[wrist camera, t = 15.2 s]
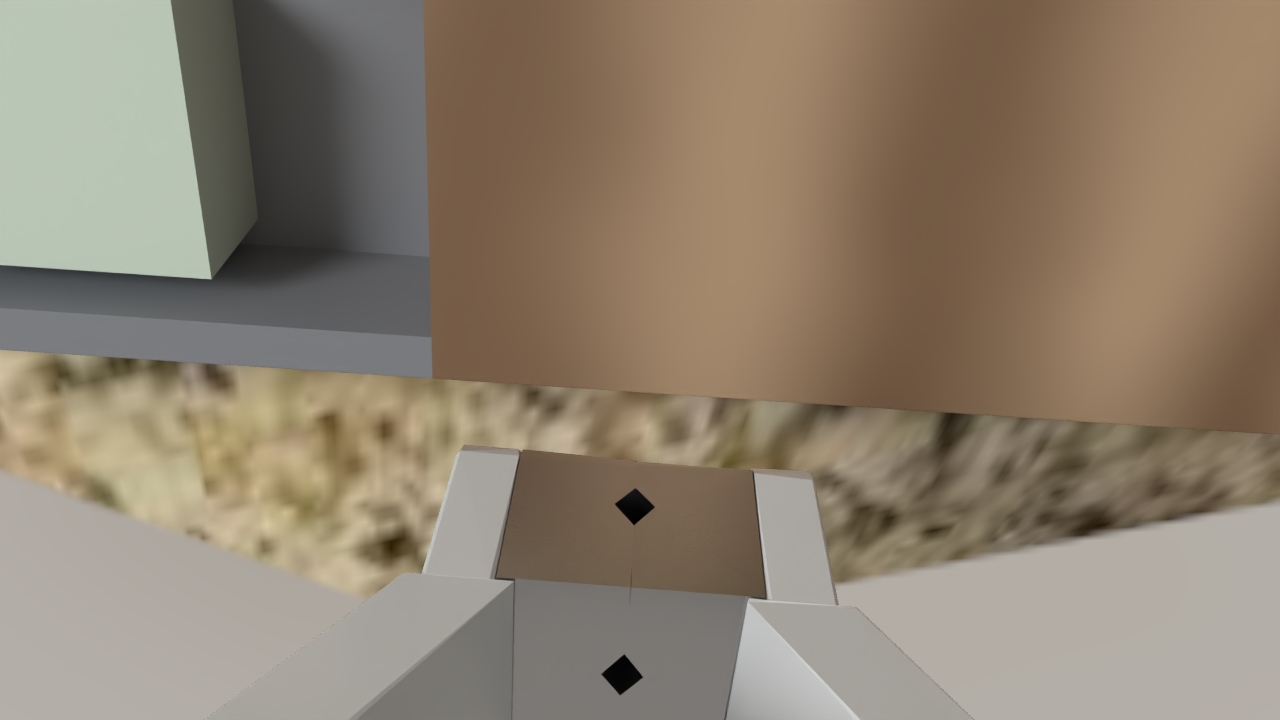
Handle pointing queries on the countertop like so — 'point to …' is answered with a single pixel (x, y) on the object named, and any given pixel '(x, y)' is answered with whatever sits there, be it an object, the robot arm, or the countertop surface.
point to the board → (863, 203)
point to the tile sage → (122, 136)
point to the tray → (286, 216)
